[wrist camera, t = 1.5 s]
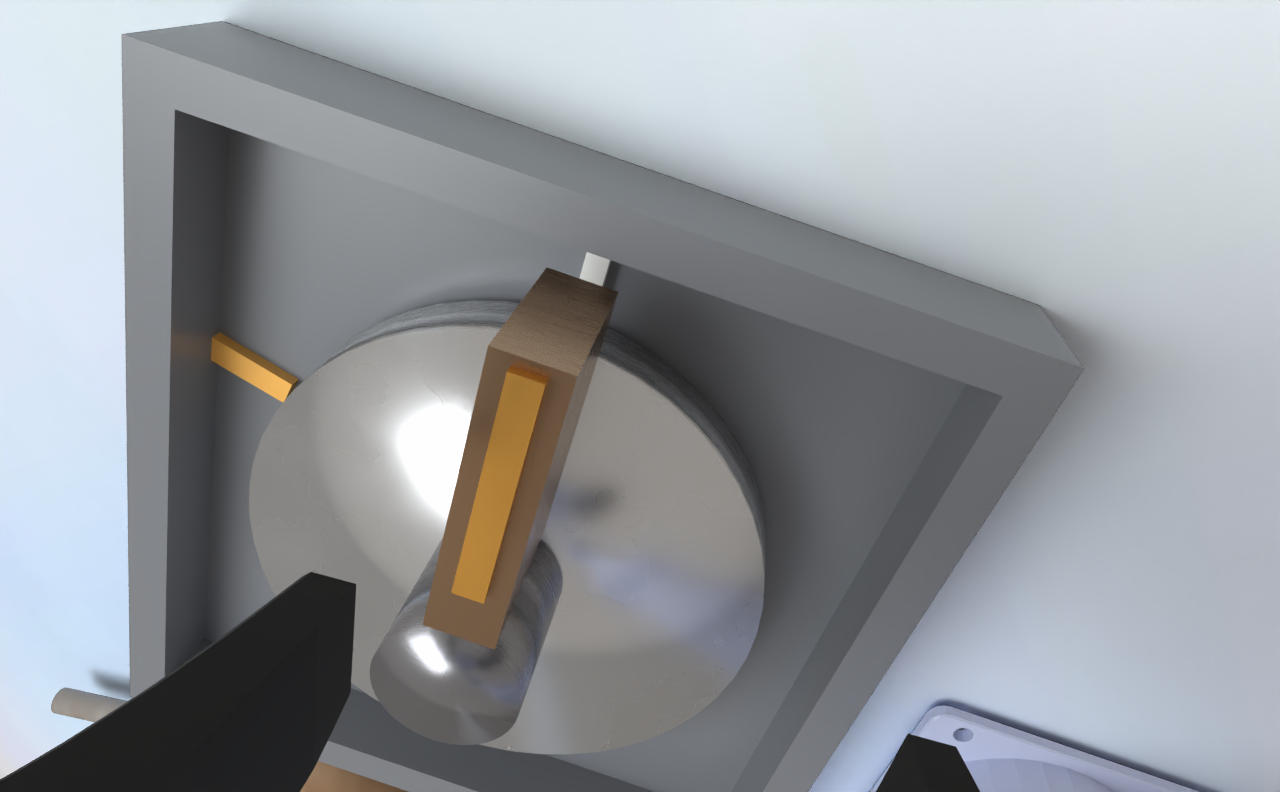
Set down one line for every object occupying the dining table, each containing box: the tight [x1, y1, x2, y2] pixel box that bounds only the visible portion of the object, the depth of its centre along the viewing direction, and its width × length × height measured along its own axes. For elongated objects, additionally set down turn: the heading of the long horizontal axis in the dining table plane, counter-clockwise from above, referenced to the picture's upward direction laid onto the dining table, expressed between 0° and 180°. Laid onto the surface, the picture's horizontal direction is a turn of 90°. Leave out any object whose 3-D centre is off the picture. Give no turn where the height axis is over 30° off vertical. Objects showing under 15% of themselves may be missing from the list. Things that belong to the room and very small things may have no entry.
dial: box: [249, 267, 766, 755], centre depth 18 cm, size 14×12×5 cm
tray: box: [122, 21, 1084, 792], centre depth 21 cm, size 18×18×3 cm
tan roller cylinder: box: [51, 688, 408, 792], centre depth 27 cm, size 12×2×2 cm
